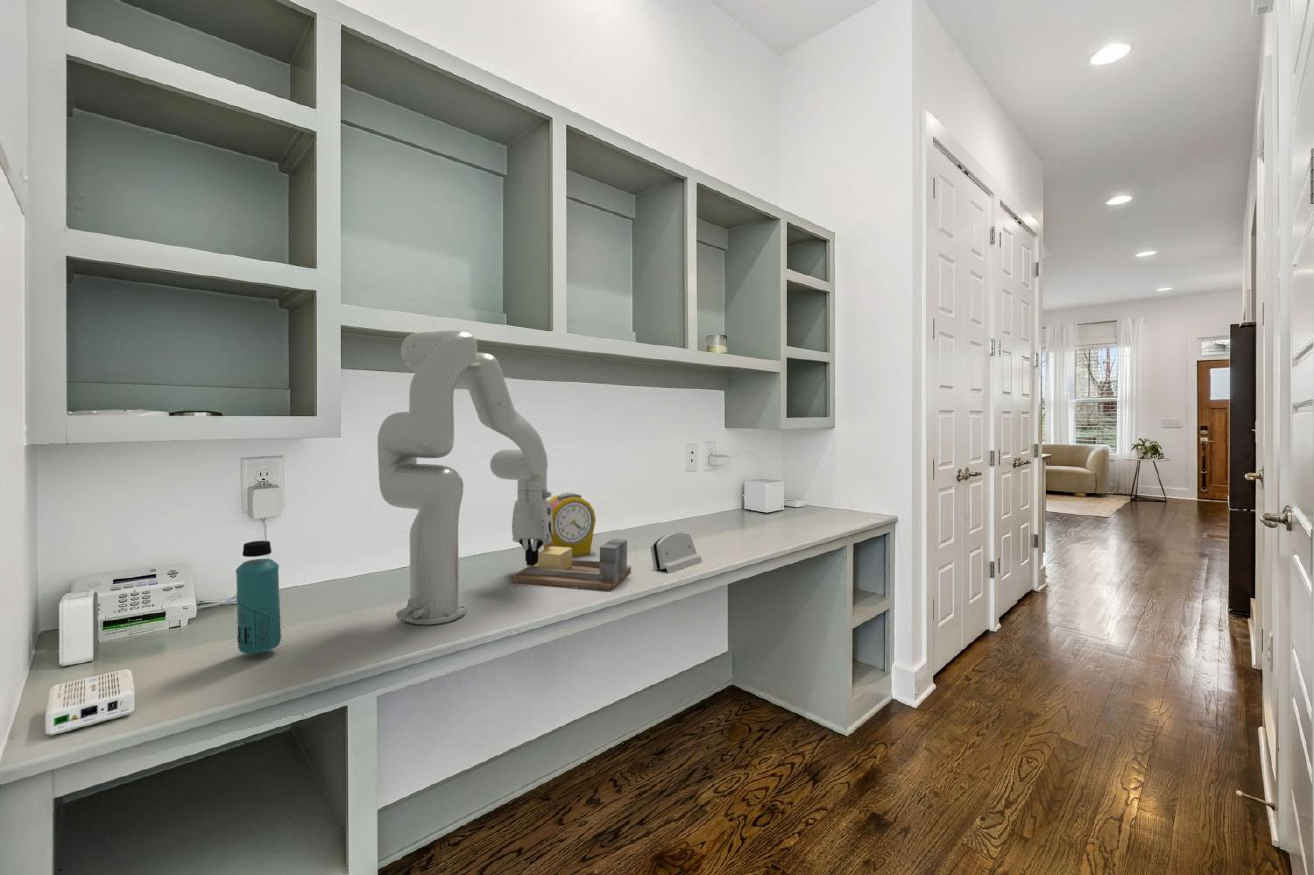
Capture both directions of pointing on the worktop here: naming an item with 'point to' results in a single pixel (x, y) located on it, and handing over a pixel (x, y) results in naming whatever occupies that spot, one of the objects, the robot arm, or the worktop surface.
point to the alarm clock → (572, 523)
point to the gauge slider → (555, 558)
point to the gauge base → (584, 570)
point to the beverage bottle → (258, 600)
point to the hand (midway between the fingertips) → (531, 564)
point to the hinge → (674, 552)
